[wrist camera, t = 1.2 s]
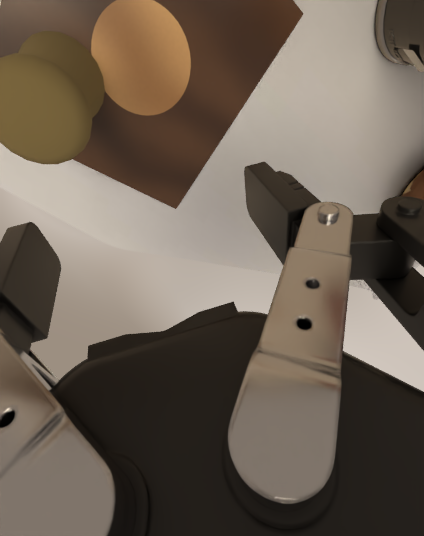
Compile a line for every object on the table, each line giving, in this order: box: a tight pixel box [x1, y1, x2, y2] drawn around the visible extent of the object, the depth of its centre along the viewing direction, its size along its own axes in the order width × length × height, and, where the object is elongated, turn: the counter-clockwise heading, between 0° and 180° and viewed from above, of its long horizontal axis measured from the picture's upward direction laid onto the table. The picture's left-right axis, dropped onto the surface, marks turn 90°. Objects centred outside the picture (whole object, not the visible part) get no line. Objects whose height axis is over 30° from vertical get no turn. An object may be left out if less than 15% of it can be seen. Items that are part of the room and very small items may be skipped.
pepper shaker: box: [0, 31, 105, 164], centre depth 18 cm, size 6×6×11 cm
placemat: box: [0, 0, 303, 209], centre depth 22 cm, size 20×18×1 cm
